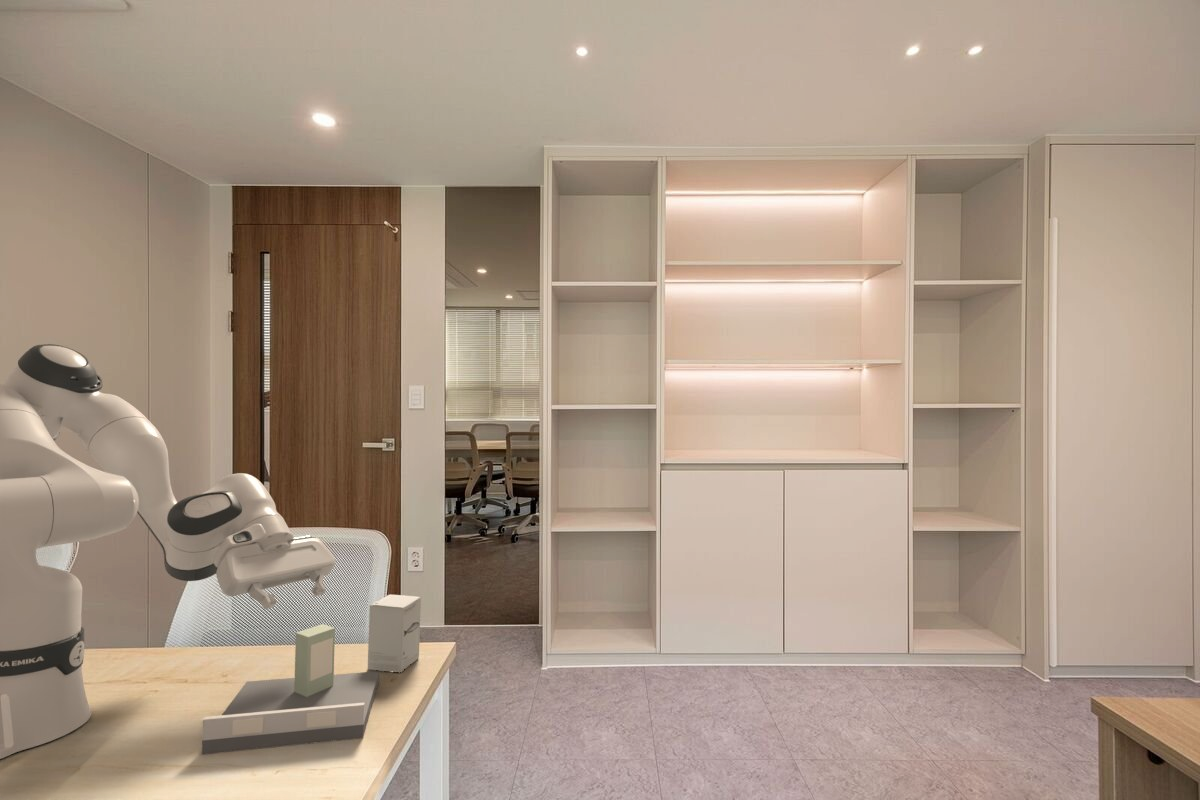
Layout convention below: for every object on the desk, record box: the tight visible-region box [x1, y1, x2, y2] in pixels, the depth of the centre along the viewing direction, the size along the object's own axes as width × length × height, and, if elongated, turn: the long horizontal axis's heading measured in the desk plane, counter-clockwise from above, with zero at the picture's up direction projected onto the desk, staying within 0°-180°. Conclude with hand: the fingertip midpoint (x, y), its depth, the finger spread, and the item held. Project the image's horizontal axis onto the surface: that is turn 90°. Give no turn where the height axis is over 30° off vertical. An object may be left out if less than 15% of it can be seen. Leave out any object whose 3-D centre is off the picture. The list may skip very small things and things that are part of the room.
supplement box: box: [366, 594, 422, 674], centre depth 118 cm, size 7×7×13 cm
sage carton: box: [294, 623, 336, 697], centre depth 103 cm, size 5×4×10 cm
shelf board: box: [201, 670, 380, 755], centre depth 98 cm, size 22×19×5 cm
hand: (296, 599), depth 108 cm, fingers open, 8 cm apart
